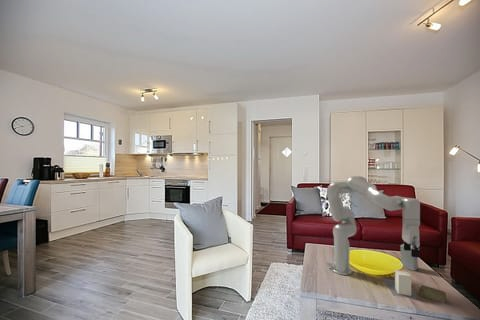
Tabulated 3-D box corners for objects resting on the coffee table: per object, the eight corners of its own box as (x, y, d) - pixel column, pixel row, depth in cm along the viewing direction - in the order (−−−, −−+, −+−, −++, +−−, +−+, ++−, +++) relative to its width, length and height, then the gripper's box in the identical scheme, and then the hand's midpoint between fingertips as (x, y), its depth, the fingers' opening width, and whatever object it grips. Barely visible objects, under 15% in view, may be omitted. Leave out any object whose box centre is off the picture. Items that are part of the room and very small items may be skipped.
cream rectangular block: (398, 294, 130) (398, 274, 130) (394, 288, 135) (395, 269, 135) (411, 296, 128) (411, 276, 128) (407, 290, 134) (407, 271, 134)
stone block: (446, 305, 121) (446, 295, 121) (418, 296, 129) (418, 287, 129) (446, 300, 125) (446, 291, 126) (419, 292, 133) (419, 283, 133)
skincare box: (418, 269, 162) (418, 246, 163) (414, 271, 158) (414, 248, 159) (404, 264, 169) (404, 242, 170) (399, 267, 165) (400, 244, 166)
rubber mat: (393, 295, 129) (393, 295, 129) (383, 278, 148) (383, 278, 148) (419, 300, 125) (419, 299, 125) (405, 282, 144) (405, 281, 144)
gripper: (397, 217, 134) (396, 247, 134) (409, 224, 118) (409, 258, 118) (412, 218, 132) (412, 248, 132) (427, 226, 116) (427, 260, 115)
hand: (411, 253), depth 125 cm, fingers open, 9 cm apart
